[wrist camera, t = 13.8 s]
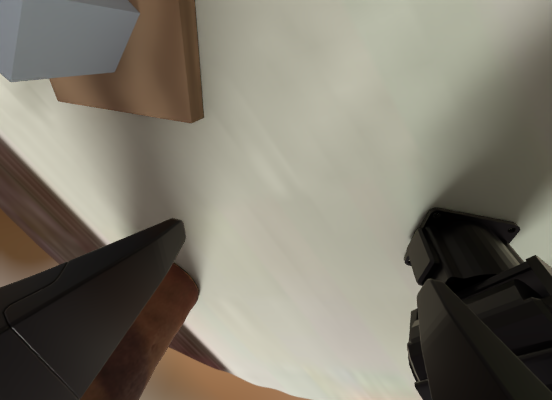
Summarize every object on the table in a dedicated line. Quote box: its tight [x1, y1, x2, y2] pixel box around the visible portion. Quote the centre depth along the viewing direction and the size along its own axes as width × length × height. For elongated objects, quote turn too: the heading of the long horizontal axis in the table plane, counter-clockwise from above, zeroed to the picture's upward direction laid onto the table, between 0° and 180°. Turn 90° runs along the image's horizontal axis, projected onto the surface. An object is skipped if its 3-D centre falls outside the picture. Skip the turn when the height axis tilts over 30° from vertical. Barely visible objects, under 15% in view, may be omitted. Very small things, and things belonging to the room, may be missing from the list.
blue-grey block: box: [0, 0, 140, 82], centre depth 14 cm, size 5×5×7 cm
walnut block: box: [49, 0, 204, 123], centre depth 18 cm, size 13×13×2 cm
